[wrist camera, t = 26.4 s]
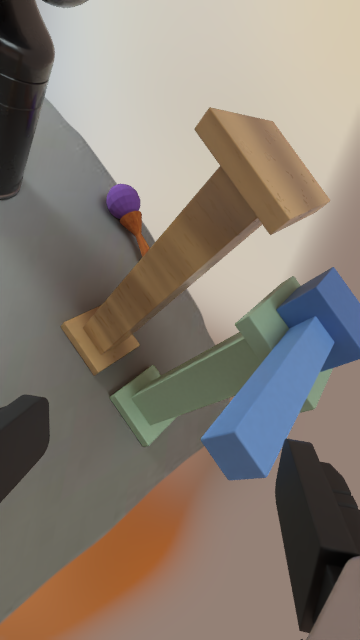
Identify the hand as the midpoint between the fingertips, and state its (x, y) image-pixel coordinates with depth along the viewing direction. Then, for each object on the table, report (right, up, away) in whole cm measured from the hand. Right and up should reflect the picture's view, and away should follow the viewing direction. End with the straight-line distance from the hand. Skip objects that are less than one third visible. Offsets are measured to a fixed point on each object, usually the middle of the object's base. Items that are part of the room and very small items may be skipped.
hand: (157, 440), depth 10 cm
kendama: (-8, +18, +46) cm, 50 cm away
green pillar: (-4, -8, +33) cm, 34 cm away
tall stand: (-11, +1, +33) cm, 35 cm away
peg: (+8, +1, +11) cm, 13 cm away
